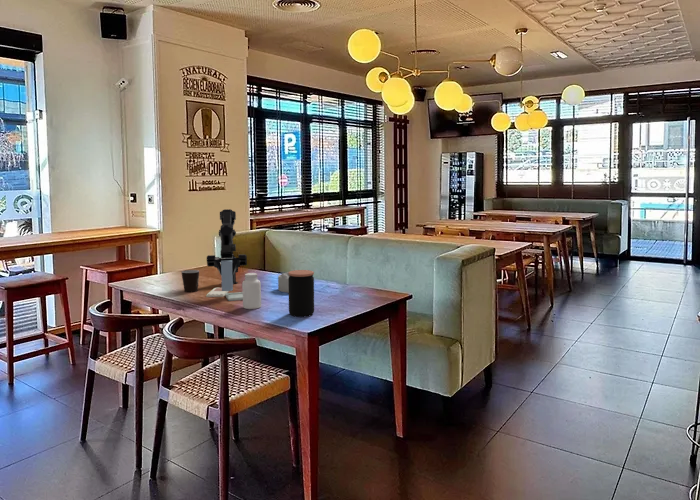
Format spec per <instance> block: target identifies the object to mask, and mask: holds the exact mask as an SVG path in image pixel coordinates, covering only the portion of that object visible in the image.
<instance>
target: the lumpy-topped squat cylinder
mask: <svg viewBox="0 0 700 500" xmlns="http://www.w3.org/2000/svg"><path fill="white" fill-rule="evenodd" d="M288 272H289V271H287V272H285V273H284V272H283V273H281V274H279V275H278V276H277V282H278V283H277V287H278V289H277V290H278V291H279V292H282V293H288V294H289V285H288V278H289V277H290V276H289V274H288Z"/></svg>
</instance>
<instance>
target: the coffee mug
mask: <svg viewBox="0 0 700 500" xmlns="http://www.w3.org/2000/svg"><path fill="white" fill-rule="evenodd" d="M181 278H182V285H183V290H184V293H196V292H198V291H199V290H198V289H199V279H200V270H198V269H188V270H187V269H185V270H181Z"/></svg>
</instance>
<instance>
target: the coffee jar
mask: <svg viewBox="0 0 700 500" xmlns="http://www.w3.org/2000/svg"><path fill="white" fill-rule="evenodd" d="M287 272H288V274H289V276H290V277H289V278H288V285H289V293H288V312H289V315H290V316H292V317H295V316H296V317H297V318H304V316H306V317H310V316H309V315H311V316H313V314H314V312H315V277H314V275H315V272H314V271H313V270H310V269H307V270H306V269H297V270H295V269H294V270H290V271H287Z"/></svg>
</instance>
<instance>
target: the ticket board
mask: <svg viewBox="0 0 700 500" xmlns="http://www.w3.org/2000/svg"><path fill="white" fill-rule="evenodd" d="M225 293H230V291H222V287H214V288H213V289H211V290H210V291H209V292H208V293H207V294H206V297H205V298H213V297H214V298H223V297H226V296H225Z"/></svg>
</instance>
